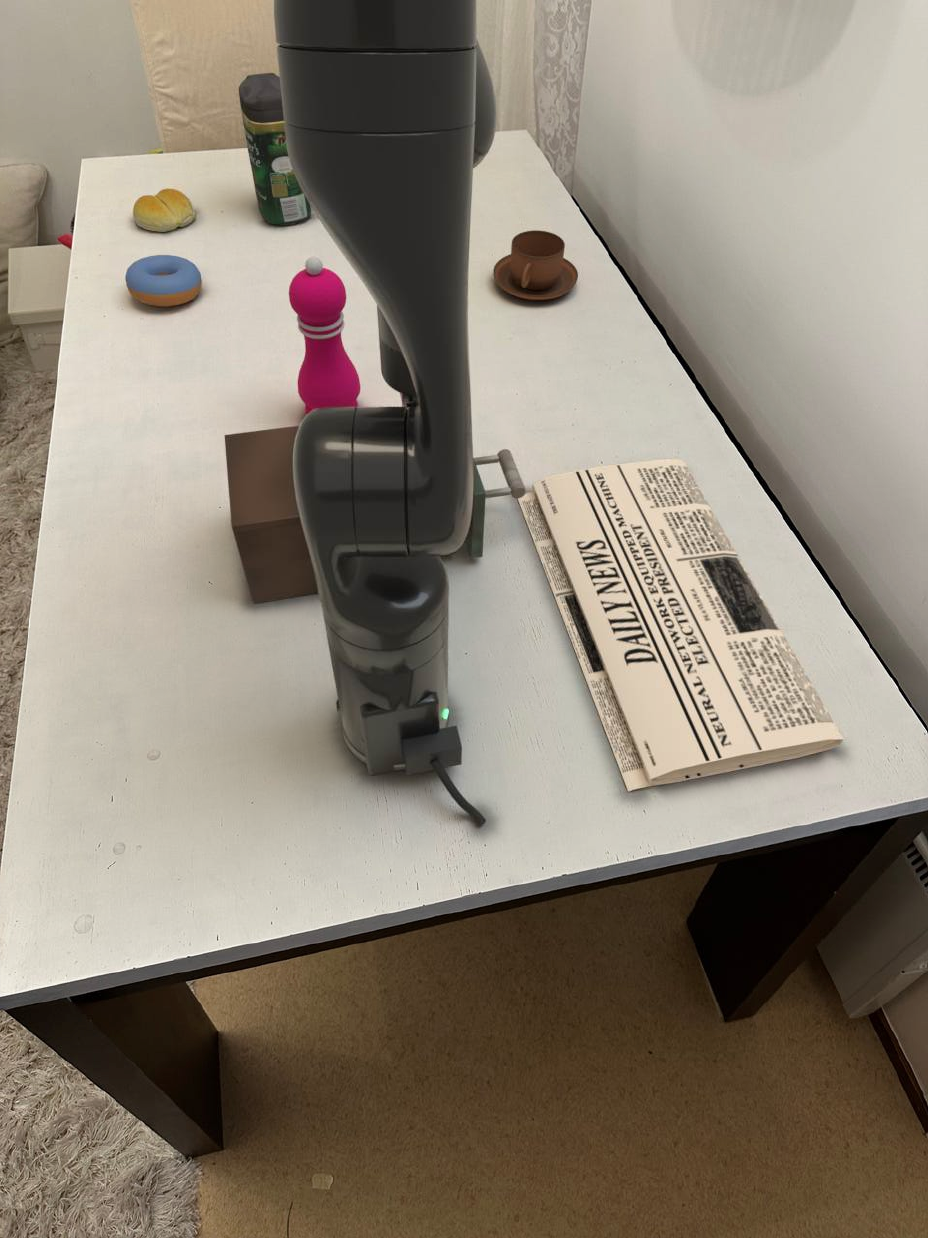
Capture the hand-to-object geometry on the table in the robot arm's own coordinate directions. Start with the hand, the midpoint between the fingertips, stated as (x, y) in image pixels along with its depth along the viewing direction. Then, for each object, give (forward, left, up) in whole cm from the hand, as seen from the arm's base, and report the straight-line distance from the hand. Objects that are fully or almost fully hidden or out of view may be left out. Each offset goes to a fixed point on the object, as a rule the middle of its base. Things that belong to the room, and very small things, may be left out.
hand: (426, 479), depth 84 cm
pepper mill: (+21, +7, -8) cm, 24 cm away
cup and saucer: (+45, -25, -8) cm, 52 cm away
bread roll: (+74, +26, -8) cm, 79 cm away
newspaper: (-15, -20, -7) cm, 27 cm away
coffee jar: (+73, +8, -8) cm, 74 cm away
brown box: (0, +11, -7) cm, 14 cm away
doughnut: (+52, +26, -8) cm, 59 cm away
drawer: (0, 0, -6) cm, 6 cm away
